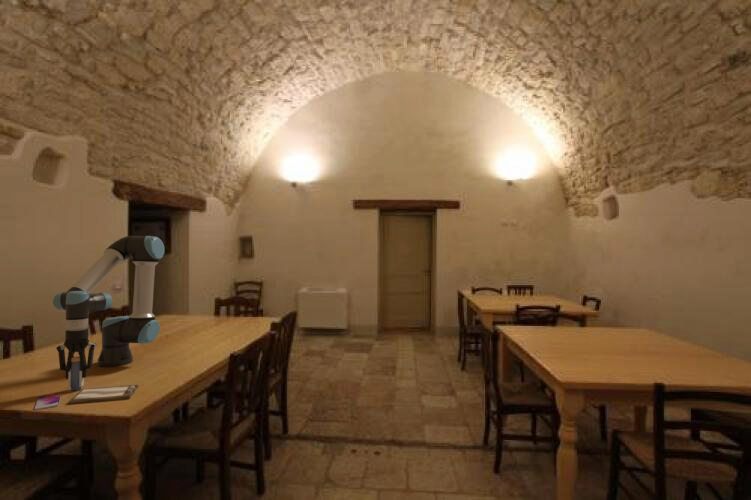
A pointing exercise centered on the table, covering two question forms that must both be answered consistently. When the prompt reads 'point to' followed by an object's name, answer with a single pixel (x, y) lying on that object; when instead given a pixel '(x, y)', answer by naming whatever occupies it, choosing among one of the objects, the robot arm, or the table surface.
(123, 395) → the clipboard
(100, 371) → the table surface
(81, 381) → the robot arm
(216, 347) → the table surface
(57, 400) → the smartphone
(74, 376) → the blue cylinder
